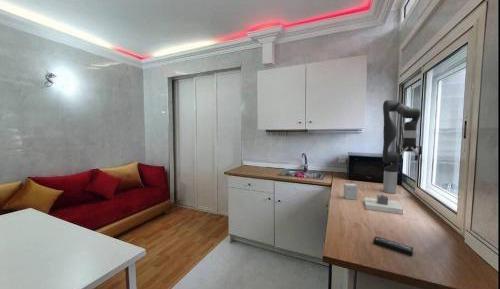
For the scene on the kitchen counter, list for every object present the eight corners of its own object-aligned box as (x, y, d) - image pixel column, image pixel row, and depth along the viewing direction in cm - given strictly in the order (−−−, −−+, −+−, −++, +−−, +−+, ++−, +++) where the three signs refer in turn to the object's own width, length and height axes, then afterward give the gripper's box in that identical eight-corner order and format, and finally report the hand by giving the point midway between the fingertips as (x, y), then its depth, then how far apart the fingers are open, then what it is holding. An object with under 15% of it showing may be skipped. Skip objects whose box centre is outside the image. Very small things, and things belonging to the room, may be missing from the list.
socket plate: (364, 201, 156) (364, 196, 156) (397, 205, 148) (397, 200, 148) (366, 209, 141) (366, 203, 141) (402, 214, 133) (403, 208, 133)
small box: (354, 197, 166) (354, 183, 165) (357, 199, 160) (357, 185, 159) (343, 196, 166) (343, 183, 165) (345, 199, 161) (346, 185, 160)
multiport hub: (412, 257, 90) (412, 251, 90) (372, 244, 100) (373, 239, 100) (413, 252, 93) (413, 247, 93) (375, 240, 103) (375, 236, 103)
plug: (376, 205, 148) (377, 193, 148) (386, 206, 146) (386, 194, 145) (377, 208, 143) (378, 195, 143) (387, 209, 141) (388, 196, 140)
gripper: (420, 137, 151) (419, 160, 152) (396, 136, 157) (395, 158, 158) (424, 137, 144) (422, 161, 146) (398, 137, 150) (397, 160, 151)
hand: (408, 160), depth 152 cm, fingers open, 8 cm apart
